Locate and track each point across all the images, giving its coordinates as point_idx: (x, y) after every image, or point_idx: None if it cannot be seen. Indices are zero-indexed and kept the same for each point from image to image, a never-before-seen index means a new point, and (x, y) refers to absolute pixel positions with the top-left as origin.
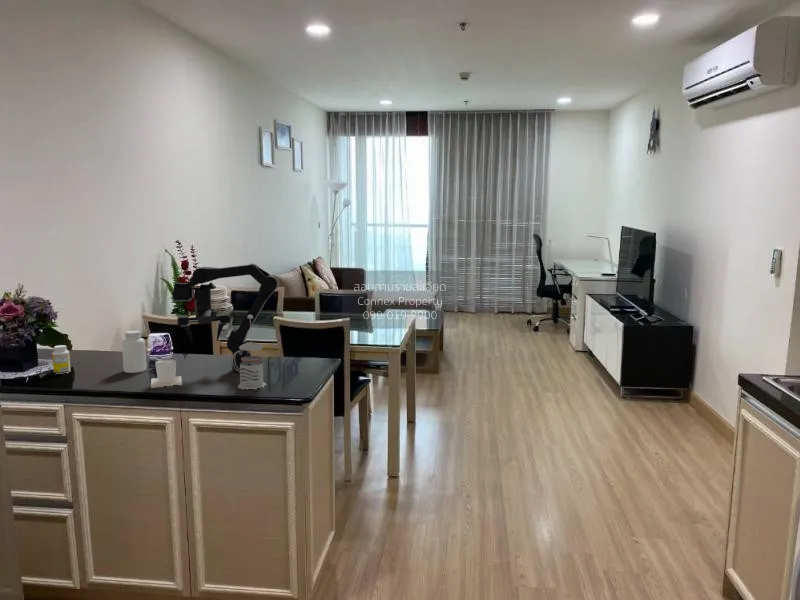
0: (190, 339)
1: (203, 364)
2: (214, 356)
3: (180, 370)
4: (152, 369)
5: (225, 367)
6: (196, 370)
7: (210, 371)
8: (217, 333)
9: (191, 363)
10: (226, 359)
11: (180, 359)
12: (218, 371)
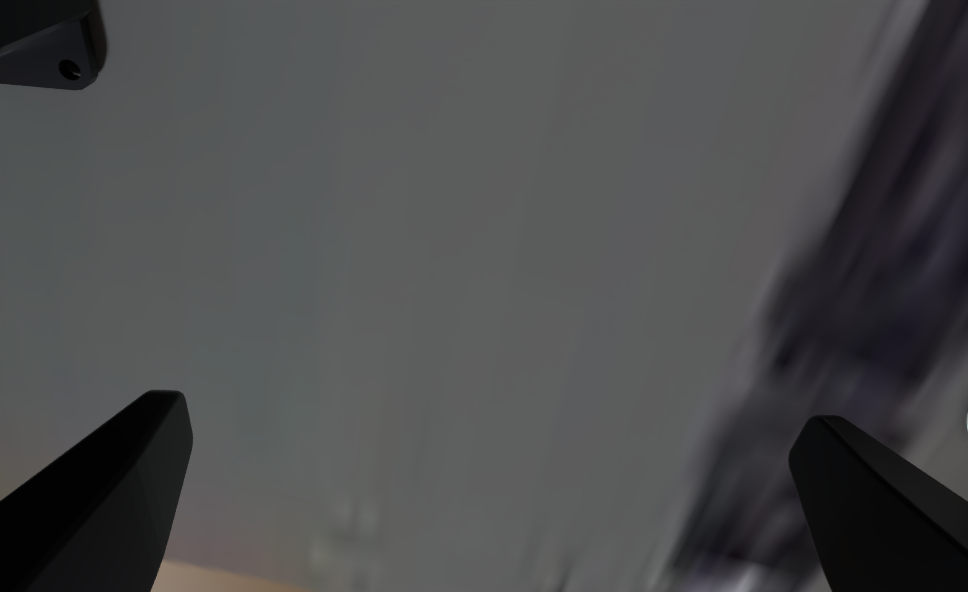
0: (924, 473)
1: (453, 389)
2: (324, 577)
3: (731, 252)
4: (926, 377)
5: (213, 187)
6: (577, 184)
7: (422, 58)
8: (21, 589)
9: (552, 450)
10: (213, 479)
11: (601, 568)
12: (312, 6)
